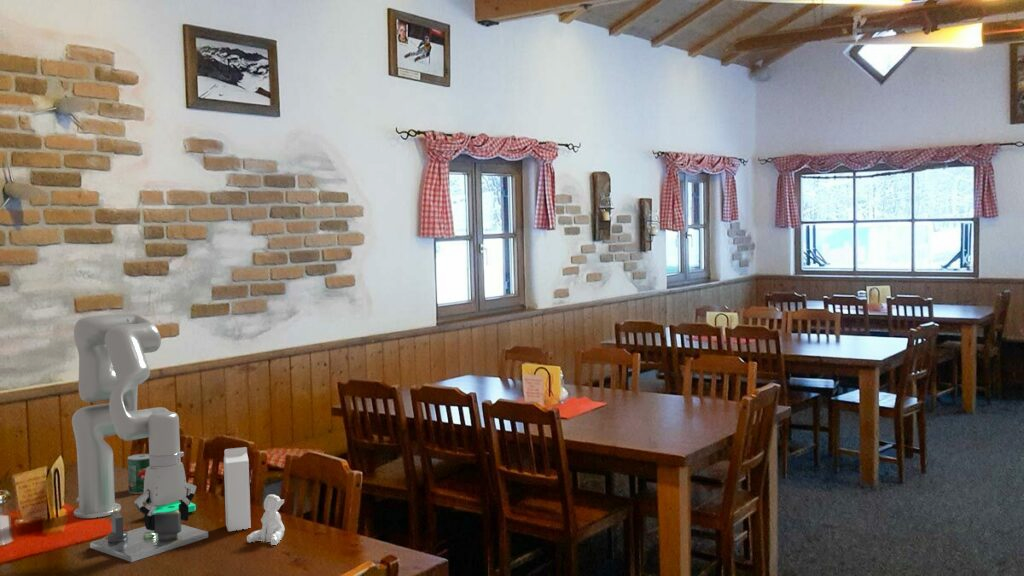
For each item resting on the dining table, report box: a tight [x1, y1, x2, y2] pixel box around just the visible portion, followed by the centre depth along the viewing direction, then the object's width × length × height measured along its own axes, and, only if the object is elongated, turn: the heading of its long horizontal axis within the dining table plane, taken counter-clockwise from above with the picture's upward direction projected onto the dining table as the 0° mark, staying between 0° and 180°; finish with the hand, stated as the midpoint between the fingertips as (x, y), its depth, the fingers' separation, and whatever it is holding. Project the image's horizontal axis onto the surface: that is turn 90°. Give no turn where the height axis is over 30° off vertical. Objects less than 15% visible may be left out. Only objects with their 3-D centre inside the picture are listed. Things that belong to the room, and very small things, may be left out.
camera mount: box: [152, 501, 197, 515], centre depth 258 cm, size 12×8×10 cm, turn 135°
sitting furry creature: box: [246, 494, 286, 546], centre depth 235 cm, size 10×9×12 cm
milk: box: [223, 446, 252, 532], centre depth 246 cm, size 6×6×22 cm
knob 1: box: [107, 510, 128, 543], centre depth 232 cm, size 5×6×7 cm
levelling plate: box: [89, 523, 209, 563], centre depth 234 cm, size 19×22×2 cm
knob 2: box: [153, 510, 182, 541], centre depth 233 cm, size 5×6×7 cm
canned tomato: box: [127, 453, 150, 495], centre depth 286 cm, size 8×8×11 cm
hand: (167, 524), depth 233 cm, fingers open, 9 cm apart
